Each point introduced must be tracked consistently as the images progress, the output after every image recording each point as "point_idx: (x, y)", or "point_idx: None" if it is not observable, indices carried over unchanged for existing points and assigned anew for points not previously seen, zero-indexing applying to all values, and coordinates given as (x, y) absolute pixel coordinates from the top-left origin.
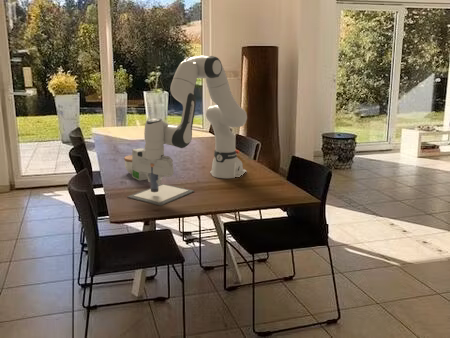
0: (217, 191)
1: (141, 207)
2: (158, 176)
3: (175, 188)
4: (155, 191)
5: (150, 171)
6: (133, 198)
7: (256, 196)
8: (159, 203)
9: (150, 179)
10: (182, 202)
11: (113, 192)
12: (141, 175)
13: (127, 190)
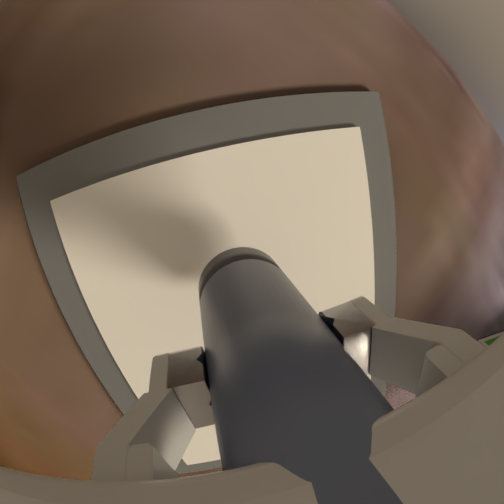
0: None
1: (93, 30)
2: (140, 453)
3: None
4: (202, 277)
5: (406, 453)
6: (317, 94)
7: None
8: (38, 182)
9: (338, 330)
10: (23, 341)
11: (475, 124)
12: None
13: (460, 206)
